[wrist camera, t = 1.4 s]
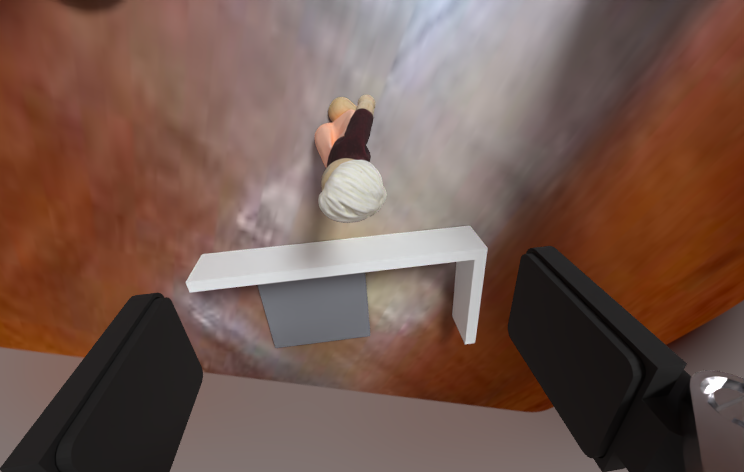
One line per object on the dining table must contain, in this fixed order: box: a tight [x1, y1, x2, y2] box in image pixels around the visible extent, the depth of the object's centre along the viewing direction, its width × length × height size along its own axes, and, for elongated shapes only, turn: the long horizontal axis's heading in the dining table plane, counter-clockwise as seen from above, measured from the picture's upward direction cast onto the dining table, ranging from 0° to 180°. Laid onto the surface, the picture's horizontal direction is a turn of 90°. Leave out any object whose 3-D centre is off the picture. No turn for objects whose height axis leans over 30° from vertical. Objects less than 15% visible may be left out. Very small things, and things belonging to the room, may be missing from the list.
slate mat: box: [258, 272, 370, 348], centre depth 34 cm, size 10×10×1 cm
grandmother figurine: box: [315, 95, 387, 223], centre depth 20 cm, size 8×4×13 cm, turn 172°
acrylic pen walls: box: [186, 225, 488, 344], centre depth 31 cm, size 24×11×4 cm, turn 93°
